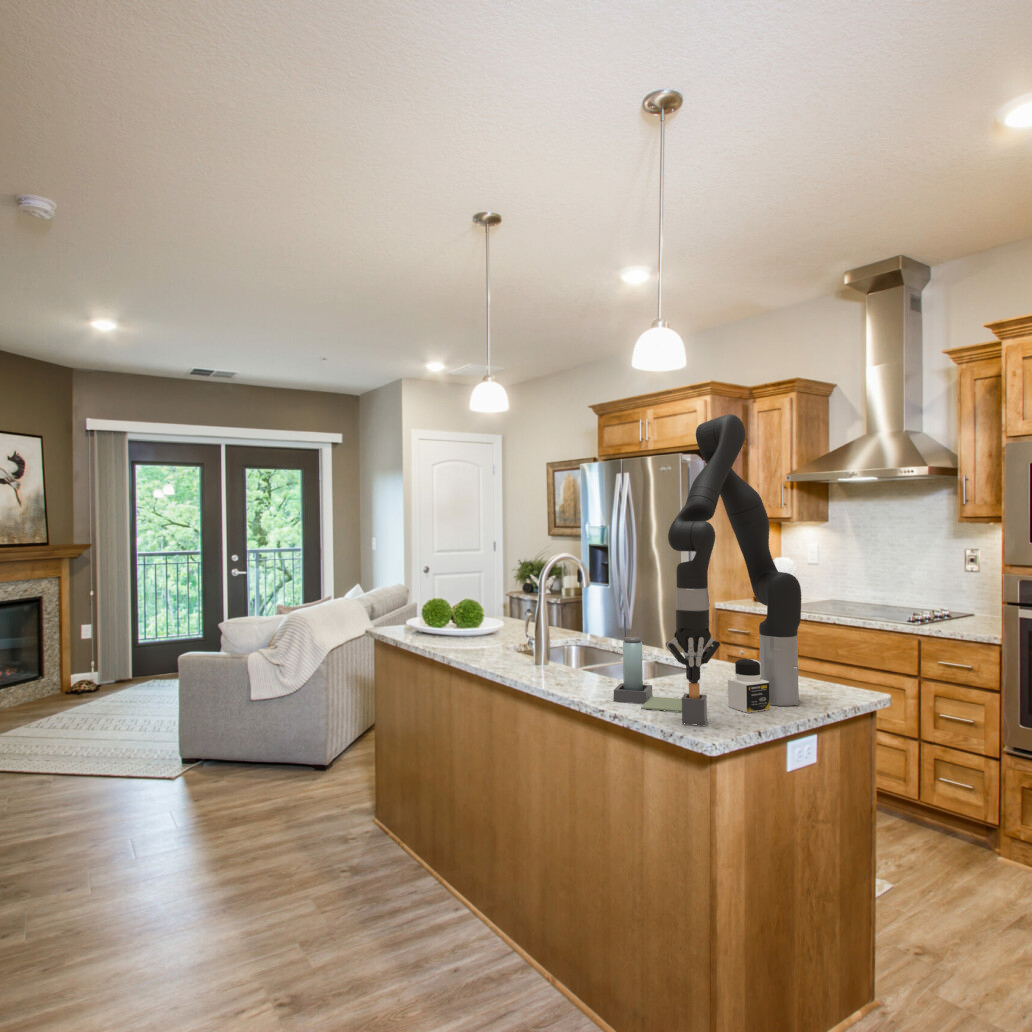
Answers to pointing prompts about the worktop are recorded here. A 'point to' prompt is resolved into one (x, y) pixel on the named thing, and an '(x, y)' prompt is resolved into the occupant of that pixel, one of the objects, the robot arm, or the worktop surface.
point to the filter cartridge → (632, 664)
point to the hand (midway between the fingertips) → (693, 682)
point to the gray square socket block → (694, 710)
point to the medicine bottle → (748, 687)
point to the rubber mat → (663, 704)
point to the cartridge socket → (632, 694)
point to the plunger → (694, 690)
